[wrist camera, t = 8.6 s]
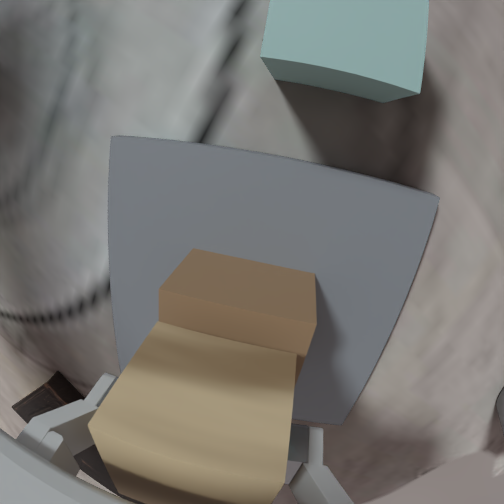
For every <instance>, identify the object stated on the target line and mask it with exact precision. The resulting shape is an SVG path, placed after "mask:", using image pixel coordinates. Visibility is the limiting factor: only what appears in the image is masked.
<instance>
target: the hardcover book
mask: <svg viewBox="0 0 504 504" xmlns="http://www.w3.org/2000/svg"><path fill="white" fill-rule="evenodd" d="M80 399H82V400H85V398H84V397H83V396H82V395H81V394H80V393H79V392H78V391H77V390H76V389H75V388H74V387H73V386H72V385H71V384H70V383H69V382H68V381H67V380H66V379H65V378H64V376H63V375H62V374H61V373H60V372H59V371H57V372H56V373H55V374H54V376H53V377H52V378H51V379H50V380H49V381H47V382H46V383H44V384H43V385H42V386H40V387H39V388H37V389H36V390H34V391H33V392H31V393H30V394H29V395H27V396H26V397H24V398H23V399H21V400H20V401H19V402H17V403H16V404H14V405H13V406H12V408H13V409H14V410H15V411H16V412H17V413H18V415H19V416H20V417H21V418H22V419H23V420H24V421H25V422H26V423H27V424H28V423H29V422H30V420H31V419H32V418H33V417H36V416H38V415H41V414H44V413H46V412H49V411H52V410H54V409H57V408H60V407H62V406H65V405H67V404H70V403H72V402H75V401H77V400H80ZM73 457H74V458H75V460H76V462H77V463H78V465H79V467H80V469H81V470H82V471H83V472H85V473H86V474H87V475H89V476H90V477H92V478H93V479H94V480H96V481H97V482H99V483H100V484H101V485H103V486H104V487H106V488H107V489H109V490H110V491H112V492H113V493H115V494H116V495H118V496H120V497H121V498H123V499H125V500H128V501H130V502H133V503H135V504H145V503H143V502H140V501H137V500H135V499H132V498H130V497H127V496H125V495H122V494H120V493H118V491H117V489H116V487H115V485H114V483H113V481H112V479H111V477H110V475H109V473H108V471H107V469H106V467H105V465H104V462H103V460H102V458H101V456H100V454H99V451H98V449H97V447H96V445H95V444H94V445H92V446H90V447H88V448H87V449H85V450H83V451H81V452H79V453H78V454H76V455H74V456H73Z"/></svg>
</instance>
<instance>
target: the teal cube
mask: <svg viewBox="0 0 504 504" xmlns="http://www.w3.org/2000/svg"><path fill="white" fill-rule="evenodd" d="M428 9H429V0H270V4H269V10H268V15H267V21H266V26H265V32H264V37H263V43H262V49H261V55H260V57H261V59H262V60H263V62H264V63H265V65H266V67H267V68H268V70H269V71H270V73H271V75H272V76H273V78H274V79H275V80H281V81H287V82H293V83H299V84H304V85H310V86H315V87H320V88H325V89H329V90H334V91H338V92H342V93H347V94H351V95H355V96H359V97H363V98H366V99H370V100H374V101H377V102H381V103H386V102H389V101H393V100H397V99H401V98H405V97H409V96H413V95H417V94H420V91H421V84H422V76H423V68H424V60H425V50H426V39H427V26H428Z"/></svg>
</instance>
